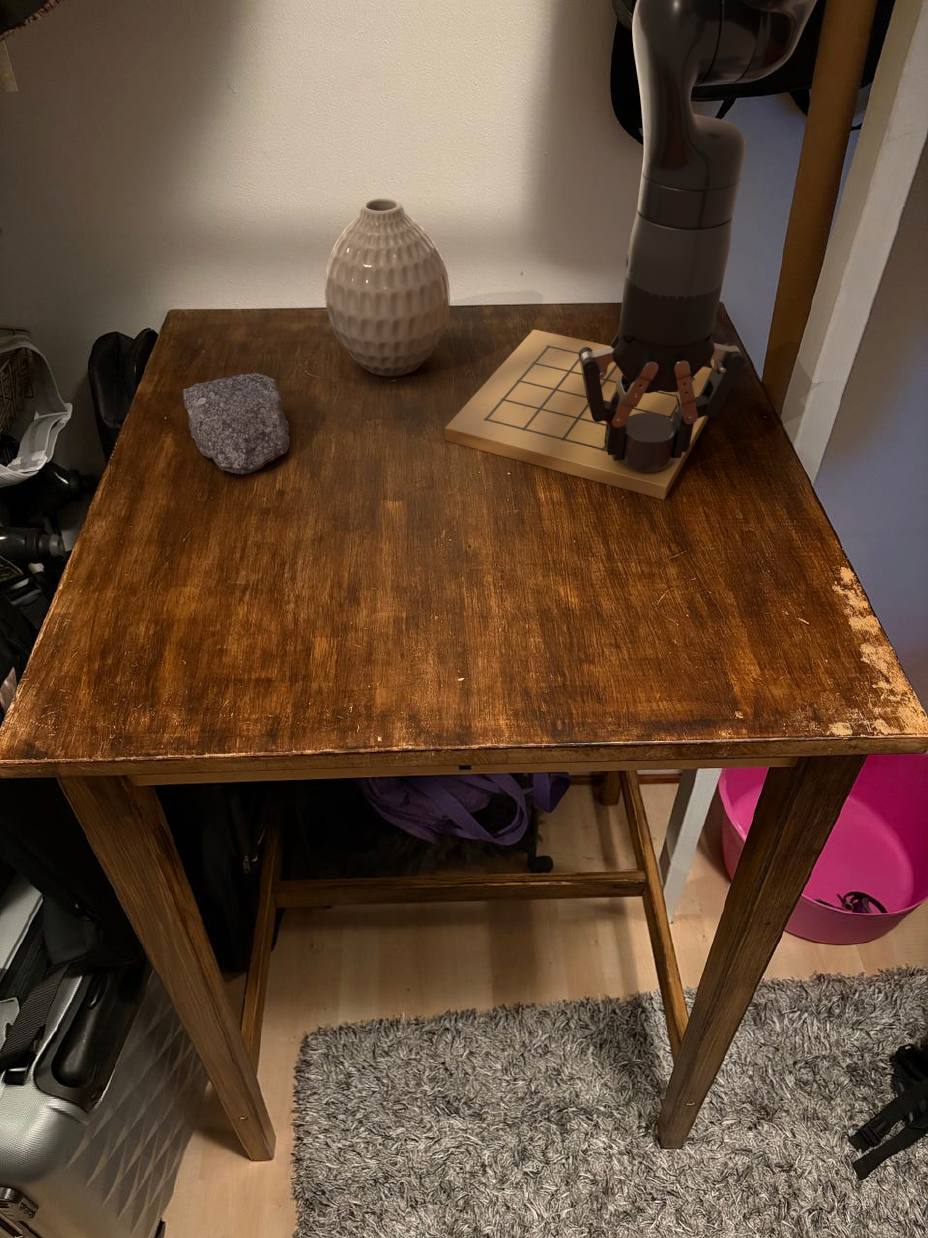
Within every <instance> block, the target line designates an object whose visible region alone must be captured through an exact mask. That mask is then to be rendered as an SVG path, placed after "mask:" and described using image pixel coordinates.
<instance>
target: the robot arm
mask: <svg viewBox="0 0 928 1238" xmlns="http://www.w3.org/2000/svg"><path fill="white" fill-rule="evenodd" d="M817 1H818V0H636V2H635V6H634V9H633V15H632V26H631V27H632V28H631V29H632V32H631V33H632V44H633V46H632V47H633V54H634V61H635V67H636V74H637V80H638V81H637V82H638V88H639V96H640V107H641V119H642V120H641V121H642V133H643V135H642V136H643V137H642V138H643V157H642V158H643V159H642V167H641V175H640V182H639V189H638V198H637V206H636V207H637V208H636V212H635V217H634V221H633V226H632V228H631V233H630V237H629V244H628V251H627V253H626V256H625V268H626V269H625V275H624V276H625V277H624V282H623V293H622V299H621V300H622V301H621V307H620V317H619V324H618V331H617V334H616V336H615V337H614V339H613V340H612V341H611V344H610V346H611V347H607V348H604V349H600V350H596V351H592V349H591V348H589V347H584V348H582V349H581V350H580V351H579V360H580V365H581V370H582V376H583V381H584V386H585V392H586V397H587V402H588V406H589V409H590V412H591V415H592V418H593V420H594V421H596V422H601V421H605V422H606V431H605V439H604V443H605V446H606V449H607V452H608V455H612V458H613V461H622V457H623V450H624V443H625V436H626V429H627V427H626V424H625V423H626V421H627V419H628V417H629V415H630V413H631V411H632V409H633V408H634V407H637V405H638V404H639V402H640V400H641V398H642V396H643V394H644V393H652V392H656V391H663V392H675V396H676V401H677V405H678V411H677V412H674V414H673V420H672V422H673V423H674V424H675V426H676V429H677V431H676V436H675V442H674V447H673V453H672V458H681V456H682V452H686V451H687V450H688V448H689V446H690V441H691V436H692V431H693V426H694V423H695V422H696V421H697V419H699V418H701V417H703V416H706V415H707V416H708V417H709V418H714V417H717V415H719V413H720V412H721V410H722V407H723V405H724V403H725V401H726V399H727V397H728V396H729V394H730V391H731V390H732V388H733V385H734V384H735V381H736V380H737V378H738V375H739V374H740V372H741V370H742V368H743V366H744V364H745V358H744V356H743V354H742V351H740V349H739V347H738V346H737V344H736V343H735V342H734V341H727V342H725V343H724V344H720V343H716V342H714V341H713V336H712V335H713V332H714V330H715V329H714V328H715V323H716V320H717V319H716V318H717V315H718V309H719V304H720V299H721V293H722V289H723V288H722V287H723V284H724V279H725V275H726V274H725V273H726V269H727V264H728V259H729V254H730V248H731V239H732V224H733V223H732V222H733V215H734V212H735V207H736V202H737V196H738V193H739V186H740V181H741V177H742V172H743V166H744V160H745V156H746V155H745V154H746V139H745V136H744V134H743V133H744V132H742V130H741V129H740V128H739V127H738V126H736V125H735V124H734V123H732V122H730V121H727V120H725V119H721V118H717V117H713V116H708V115H703V114H697V113H694V112H693V108H692V104H691V103H692V101H691V100H692V99H691V98H692V90H693V87H702V86H716V85H727V84H744V83H751V82H754V81H758V80H760V79H763V78H766V77H767V76H769V75H771V74H772V73H774V72H775V71H777V70H779V68H781V67H782V66H784V65H785V63H786V62H788V60H789V59H790V58H791V56H792V55H793V53H794V51H795V49H796V47H797V45H798V43H799V41H800V39H801V37H802V34H803V31H804V29H805V26H806V24H807V23H808V20H809V18H810V16H811V15H812V12H813V10H814V8H815V6H816V3H817ZM612 362H615V363H616V365H617V366H618V368H619V369H620V371H621V372H622V373H621V375H620V377H619V378H618V380H617V383H616V389H615V392H614V393H613V395H612V397H611V399H610V401H606V400H604V399H603V394H602V388H601V382H600V378H604V376H605V375H606V374H607V368H608V366H609V364H610V363H612ZM709 362H710V365H711V367H712V370H711V372H710V374H709V376H708V378H707V380H706V382H705V384H704V386H703V388H702V391H701V393H700V395H699V396H698V397H695V395H694V390H693V385H692V380H691V379H692V378H693V377H694V376H695V375H696V374H697V373H698V371H699V370H700V369H701V368H702V367H705V365H706V364H707V363H709Z"/></svg>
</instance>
